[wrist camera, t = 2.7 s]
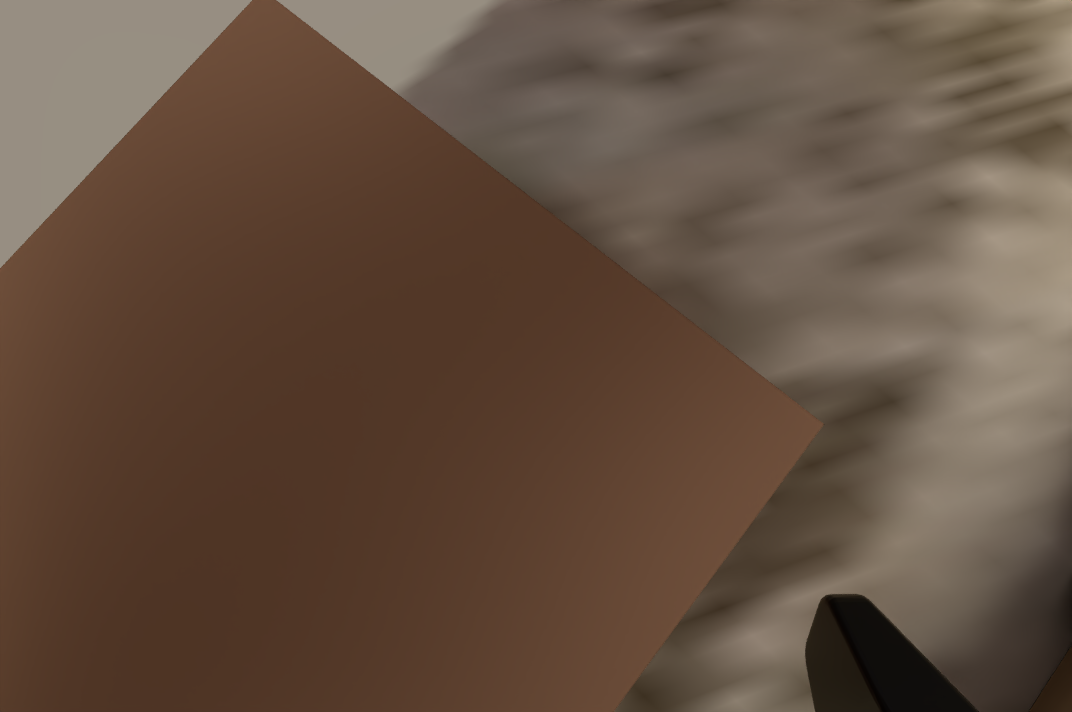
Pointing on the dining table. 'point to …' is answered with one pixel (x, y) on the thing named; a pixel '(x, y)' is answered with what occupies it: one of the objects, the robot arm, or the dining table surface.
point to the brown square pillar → (348, 420)
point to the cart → (1057, 689)
